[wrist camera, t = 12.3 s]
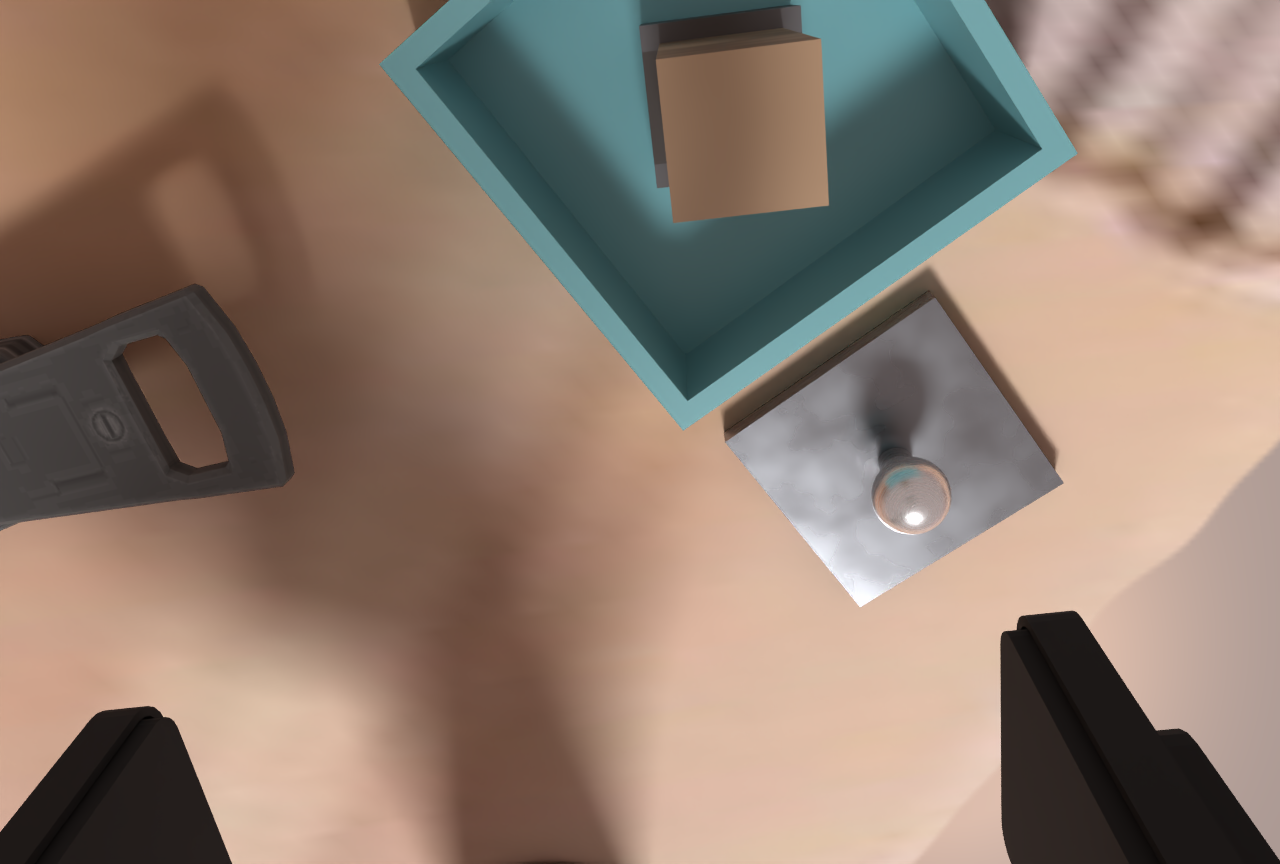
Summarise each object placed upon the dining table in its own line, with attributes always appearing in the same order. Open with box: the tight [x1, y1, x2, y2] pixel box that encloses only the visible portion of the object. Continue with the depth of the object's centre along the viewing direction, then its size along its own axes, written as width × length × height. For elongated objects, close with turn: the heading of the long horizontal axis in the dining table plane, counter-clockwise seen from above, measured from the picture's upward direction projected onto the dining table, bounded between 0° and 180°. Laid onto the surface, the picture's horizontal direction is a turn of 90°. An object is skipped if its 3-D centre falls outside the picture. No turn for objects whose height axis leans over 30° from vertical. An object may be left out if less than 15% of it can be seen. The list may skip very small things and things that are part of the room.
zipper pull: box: [0, 284, 295, 531], centre depth 40 cm, size 9×7×25 cm
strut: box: [639, 5, 829, 223], centre depth 31 cm, size 5×5×12 cm
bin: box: [379, 0, 1078, 430], centre depth 35 cm, size 16×16×6 cm
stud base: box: [724, 291, 1063, 607], centre depth 40 cm, size 10×10×6 cm
